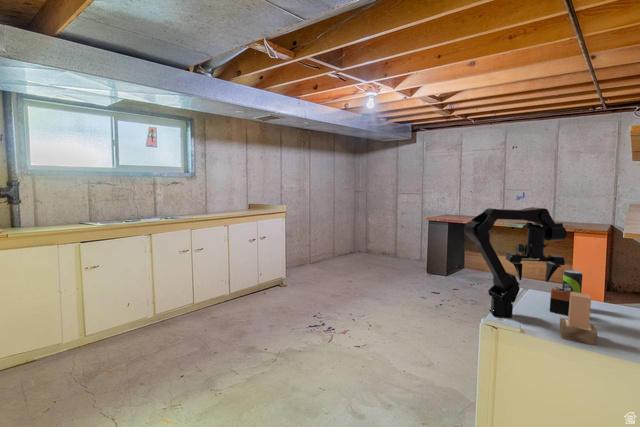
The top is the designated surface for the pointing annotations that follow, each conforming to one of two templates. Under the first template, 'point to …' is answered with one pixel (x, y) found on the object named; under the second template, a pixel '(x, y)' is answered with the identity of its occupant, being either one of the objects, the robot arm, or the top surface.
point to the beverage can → (572, 280)
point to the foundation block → (578, 332)
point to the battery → (560, 300)
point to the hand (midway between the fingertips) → (533, 280)
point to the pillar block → (579, 310)
